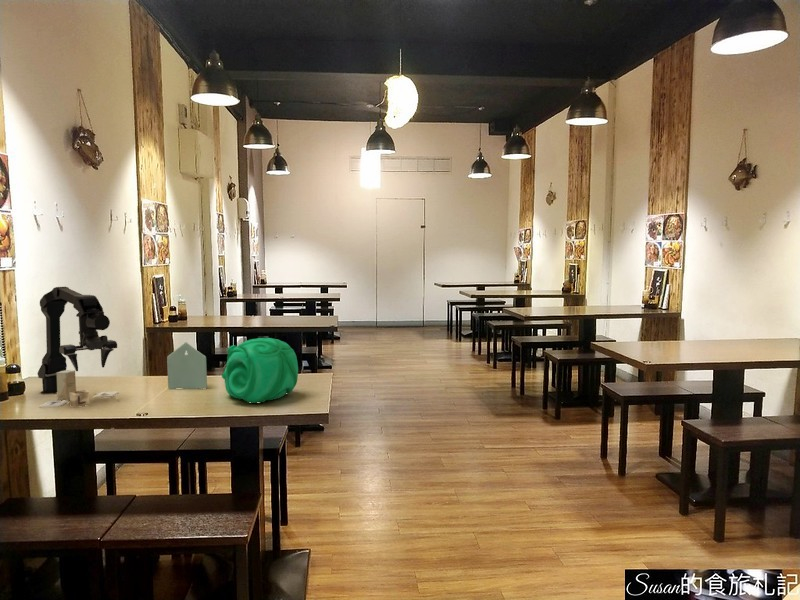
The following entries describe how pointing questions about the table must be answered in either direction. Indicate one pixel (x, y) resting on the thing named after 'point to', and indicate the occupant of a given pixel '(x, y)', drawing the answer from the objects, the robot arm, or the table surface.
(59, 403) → the pad
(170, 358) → the house-shaped tag
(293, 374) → the sculpture
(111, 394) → the pad
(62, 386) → the box
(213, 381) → the table surface
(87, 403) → the letter cube
